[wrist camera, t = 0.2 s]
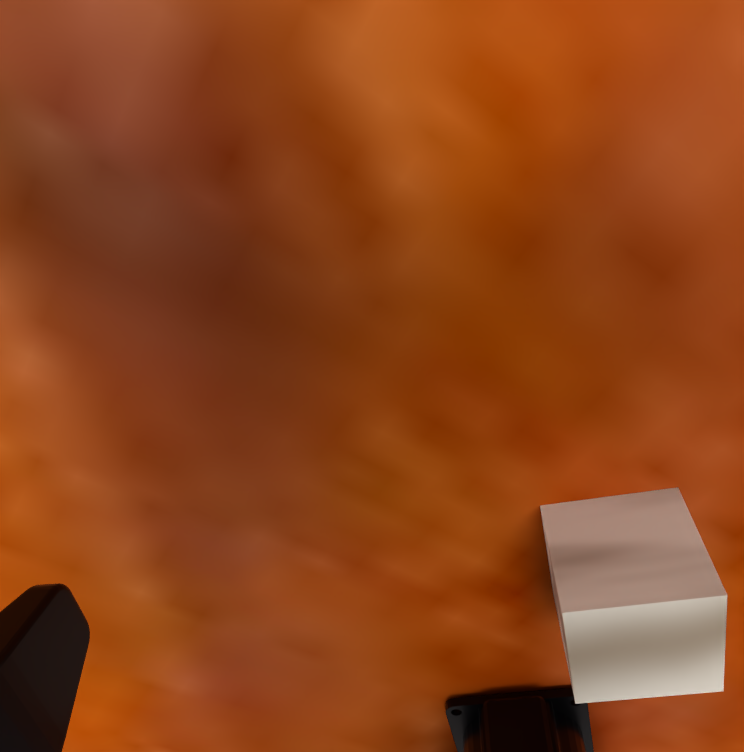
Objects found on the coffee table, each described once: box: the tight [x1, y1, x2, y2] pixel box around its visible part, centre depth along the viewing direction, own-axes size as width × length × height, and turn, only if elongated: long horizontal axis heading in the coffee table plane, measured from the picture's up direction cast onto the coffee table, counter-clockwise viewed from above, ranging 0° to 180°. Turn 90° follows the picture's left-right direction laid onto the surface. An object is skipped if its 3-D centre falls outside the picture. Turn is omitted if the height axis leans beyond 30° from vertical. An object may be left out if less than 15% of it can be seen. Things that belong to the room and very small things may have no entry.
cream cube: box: [540, 488, 727, 704], centre depth 26 cm, size 5×5×5 cm
